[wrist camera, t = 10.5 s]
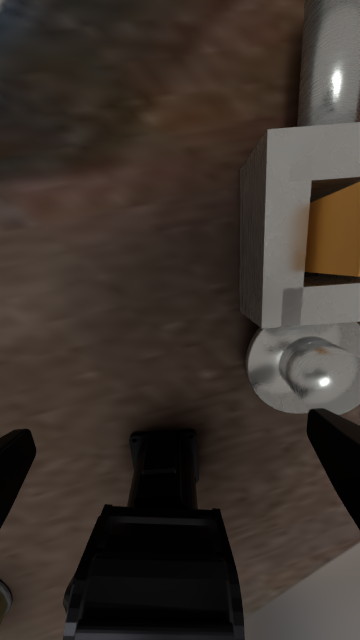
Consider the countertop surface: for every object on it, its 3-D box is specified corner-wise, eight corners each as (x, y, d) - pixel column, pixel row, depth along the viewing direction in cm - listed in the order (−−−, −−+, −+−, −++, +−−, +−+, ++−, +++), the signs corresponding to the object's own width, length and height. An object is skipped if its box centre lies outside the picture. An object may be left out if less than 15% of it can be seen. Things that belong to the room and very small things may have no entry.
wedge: (308, 267, 17) (411, 272, 10) (278, 269, 17) (358, 276, 10) (312, 213, 16) (433, 171, 9) (281, 215, 16) (373, 175, 9)
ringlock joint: (333, 389, 20) (394, 439, 15) (238, 395, 20) (262, 448, 15) (380, 32, 14) (531, -137, 8) (238, 43, 14) (283, -116, 8)
